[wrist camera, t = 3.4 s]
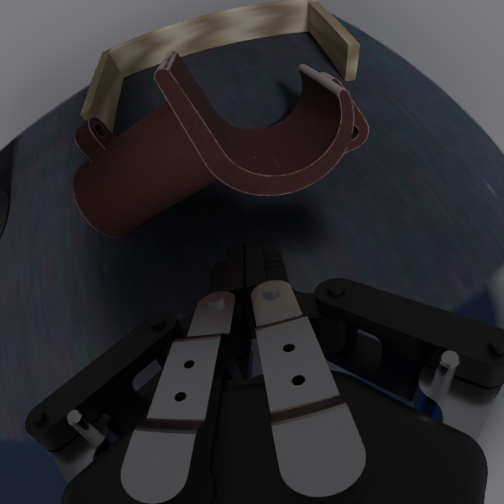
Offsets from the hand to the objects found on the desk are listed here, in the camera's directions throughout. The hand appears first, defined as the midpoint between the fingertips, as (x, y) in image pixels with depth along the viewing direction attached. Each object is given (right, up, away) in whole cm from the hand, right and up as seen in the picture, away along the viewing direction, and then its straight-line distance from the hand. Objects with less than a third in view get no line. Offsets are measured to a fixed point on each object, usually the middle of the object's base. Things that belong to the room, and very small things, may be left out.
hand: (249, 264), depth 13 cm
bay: (-3, +17, +11) cm, 21 cm away
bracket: (-1, +6, +7) cm, 9 cm away
